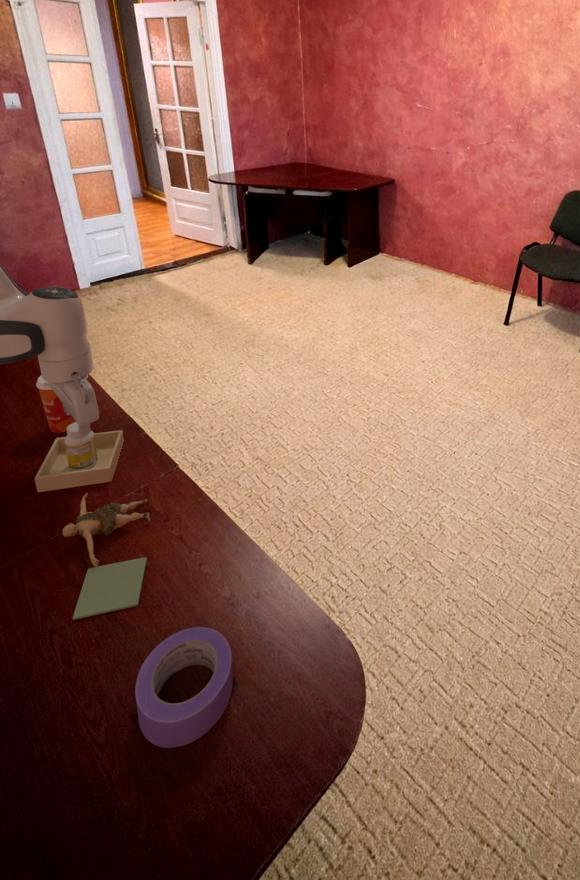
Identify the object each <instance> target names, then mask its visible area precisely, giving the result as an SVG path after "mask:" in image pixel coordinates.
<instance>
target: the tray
mask: <svg viewBox="0 0 580 880" xmlns="http://www.w3.org/2000/svg"><path fill="white" fill-rule="evenodd" d="M93 433H94V437H95V444H96V451H97V458H98V459H97V462H96V464H95V465H94V466H92V467H91V468H89V469H86V470H79V471H72V470H71V469H70V468H69V464H68V459H67V453H66V448H65V438H66V436H62V437H56V438H55V439H54V441H53V443H52V445H51V447H50V449H49V451H48V452H47V454H46V456H45V458H44V460H43V462H42V463H41V465H40V467H39V469H38V471H37V473H36V474H35V477H34V483H35V487H36V492H37V493H43V492H49V491H51V492H52V491H56V490H64V489H70V488H76V487H77V488H78V487H83V486H90V485H96V484H103V483H111V482H112V481H113V479H114V475H115V472H116V468H117V466H118V463H119V460H120V457H119V456H121V454H120V452H121V453H122V451H121V449H122V450H123V448H122V445H123V442H124V443H125V439H124V431H123V429H121V430H111V431H104V432H103V431H102V432H93ZM123 446H124V445H123ZM118 459H119V460H118Z"/></svg>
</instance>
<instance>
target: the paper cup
mask: <svg viewBox="0 0 580 880" xmlns="http://www.w3.org/2000/svg"><path fill="white" fill-rule="evenodd" d="M35 387H36V388H37V389H38V391H39V395H40V399H41V402H42V407H43V411H44V414H45V417H46V420H47V424H48V428H49V430H50V432H51V431H52V432H54V433H62V432H65V431H67V427H68V426H69V425H70V424H72V423H74V422H76V421H75V419H74V418H73V417H72V415H67V414H66V413H65V412H64V407H63V404H62V402H61V400H60V399H59V398H58V396H57V395H56V394H55V392H54V391H53V390H52V388H51V387H50V384H49V382H47V381H45V380H44V379H43V378H42V375H41V374H40V375H39V377H37V381H36V383H35ZM52 432H51V433H52ZM54 433H53V434H54ZM62 434H63V433H62Z"/></svg>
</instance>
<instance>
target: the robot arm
mask: <svg viewBox="0 0 580 880" xmlns="http://www.w3.org/2000/svg"><path fill="white" fill-rule="evenodd" d="M88 330H89V325H88V320H87V315H86V311H85V307H84V304H83V301H82V299H81V298H80V296H79V294H78V293H77V292H75V291H74V290H72V289H69V288H66V287H62V286H45V287H39V288H35V289H33V290H32V291H31V292H30V293H29V292H27V291H26V290H24V289H22V287H20V286H19V285H18V284H17V283H15V281H14V280H13V279H12V278H11V276H10V275H9V273H8V272H7V271H6V270H5V268H4V267H3V265H1V263H0V365H8V364H13V363H16V362H20V361H21V362H22V361H25V360H28V359H31V358H34V357H37V359H38V364H39V368H40V376H41V375H42V378H43V379H44V380H45V381H47V382H49V384H50V387H51V388H52V390H53V391H54V392H55V394H56V395H57V396H58V398H59V399H60V400H61V402H62V404H63V407H64V412H65V413H66V414H67V415H72V417H73V418H74V419H75V421H76V422H77V423H78V429H79V432H80V434H81V435H85V434H88V433H90V432H91V430H92V429H91V425H92V423H94V422H97V421H98V420H99V419H100V411H99V406H98V401H97V397H96V393H95V390H94V388H93V386H92V384H91V383H90V382H89V381H88V380H87V378H88V377H89V374H90V373H92V372H93V371H94V369H95V364H94V359H93V358H94V357H93V351H92V345H91V343H90V341H89V339H88V332H89V331H88Z"/></svg>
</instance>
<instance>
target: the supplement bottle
mask: <svg viewBox="0 0 580 880" xmlns="http://www.w3.org/2000/svg"><path fill="white" fill-rule="evenodd" d="M94 433H95V432H94V431H93V430H92V429H91V432H90V433H88V434H85V435H81V434H80V432H79V429H78V423H77V422H74V423H72V424H70V425H69V426H68V427H67V432H66V434H67V435H65V437H66V438H65V448H66V453H67V459H68V464H69V468H70V469H71V470H72V471H79V470H86V469H89V468H91V467H92V466H94V465H95V464H96V462H97V459H98V458H97V451H96V444H95V437H94Z"/></svg>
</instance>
